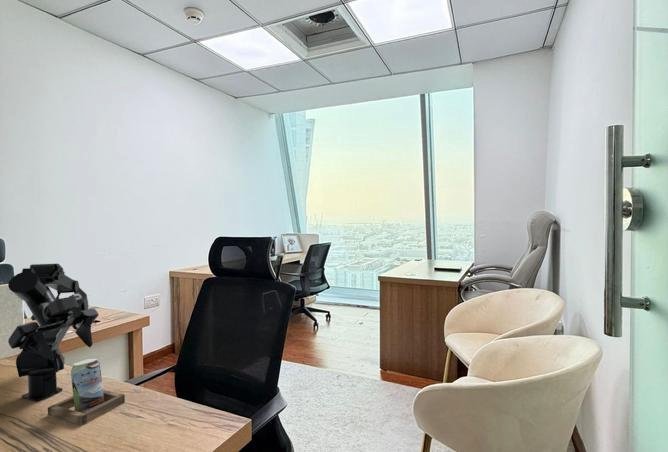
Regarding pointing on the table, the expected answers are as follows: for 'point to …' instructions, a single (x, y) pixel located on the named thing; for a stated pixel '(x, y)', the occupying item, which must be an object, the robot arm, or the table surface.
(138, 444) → the table surface
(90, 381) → the beverage can
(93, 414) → the walnut collar
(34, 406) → the table surface
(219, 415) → the table surface
